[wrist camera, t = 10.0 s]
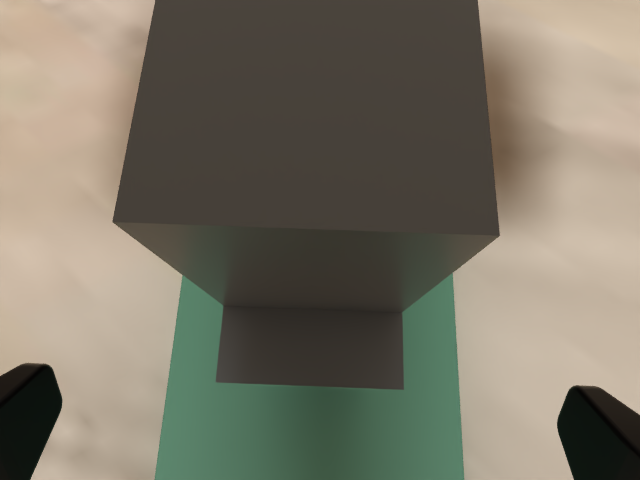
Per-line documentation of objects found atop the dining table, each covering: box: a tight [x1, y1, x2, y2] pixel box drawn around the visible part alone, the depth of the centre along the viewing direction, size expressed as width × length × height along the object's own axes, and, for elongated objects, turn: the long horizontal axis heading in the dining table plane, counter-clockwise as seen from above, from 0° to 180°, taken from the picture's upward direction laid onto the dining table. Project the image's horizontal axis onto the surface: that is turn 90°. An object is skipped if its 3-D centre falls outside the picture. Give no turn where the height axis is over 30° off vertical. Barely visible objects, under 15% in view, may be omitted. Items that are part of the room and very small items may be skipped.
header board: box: [155, 273, 464, 480], centre depth 16 cm, size 16×11×5 cm
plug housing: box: [113, 0, 500, 390], centre depth 11 cm, size 7×4×12 cm
